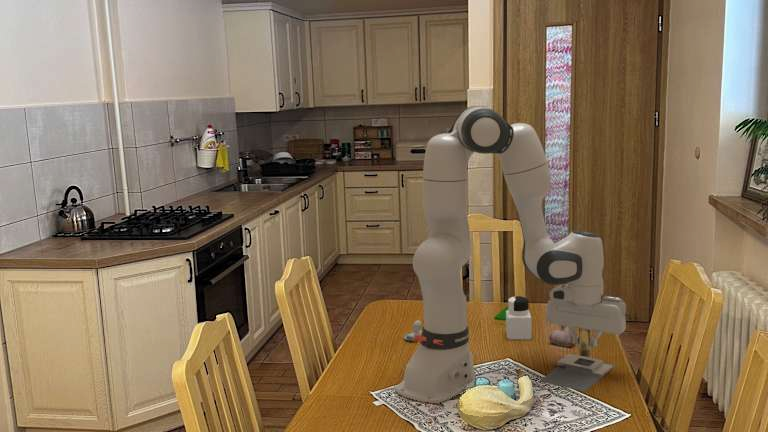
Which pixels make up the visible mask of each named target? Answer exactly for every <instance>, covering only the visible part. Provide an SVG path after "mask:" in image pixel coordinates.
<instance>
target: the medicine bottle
mask: <svg viewBox="0 0 768 432" xmlns="http://www.w3.org/2000/svg"><path fill="white" fill-rule="evenodd" d="M507 301H508V302H507V306H508V310H506V325H505V333H506V337H507V340H511V341H512V340H515V341H517V340H519V341H520V340H521V341H523V340H524V341H526V340H532V333H533V332H532V331H533V330H532V328H533V327H532V322H533V321H532V319H533V318H532V315H531V311H530V310H529V305H530V304H529V299H528V298H527V297H525V296H521V295H520V296H518V295H516V296H512V297H509V298H508V300H507Z"/></svg>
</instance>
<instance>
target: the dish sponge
mask: <svg viewBox="0 0 768 432" xmlns="http://www.w3.org/2000/svg"><path fill="white" fill-rule="evenodd" d="M506 310H508V305H506V306H505V307H504V308H503V309H502V310H501V311H500V312H498V313H497V314H496V315H495V316H494V317H493V322H494V323H493V324H494V325H495V324H496V325H504V326H506Z"/></svg>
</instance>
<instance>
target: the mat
mask: <svg viewBox="0 0 768 432" xmlns="http://www.w3.org/2000/svg"><path fill="white" fill-rule="evenodd" d="M603 364H607V365H612V369H613V368H614V367H615V366H616V365H614V364H610V363H605V362H603ZM579 365H584V364H579ZM584 366H588V365H584ZM610 371H611V370H609V371H608V372H610ZM603 377H604V376H602V377H597V376H593V375H588V374H583V373H579V372H574V371H570V370H566V367H565V366H560V365H558V366H557V367H556V368H555V369H553V370H552V371H551V372H549V373H548V374H547V375H545V376H544V377H542V378H541V379H540V380H539V382H542V383H545V384H550V385H555V386H559V387H562V388H563V387H564V388H567V389H572V390H576V391H580V392H585V393H586V392H587V391H588V390H589V389H591V387H592V386H594V385H595V384H596V383H597V382H598V381H599V380H601V379H602V378H603Z"/></svg>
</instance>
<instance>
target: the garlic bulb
mask: <svg viewBox="0 0 768 432" xmlns="http://www.w3.org/2000/svg"><path fill="white" fill-rule="evenodd" d="M548 340H549V342H551V343H552V344H554V345H557V346H560V347H562V348H566V349H567V348H570V347H571V346H572V345H573V344H572V343H573V337H572V335H571V333H570V332H569V328H568V327H566V326H562V325H560V329H555V330H553V331H551V332H550V333H549V335H548Z"/></svg>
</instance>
